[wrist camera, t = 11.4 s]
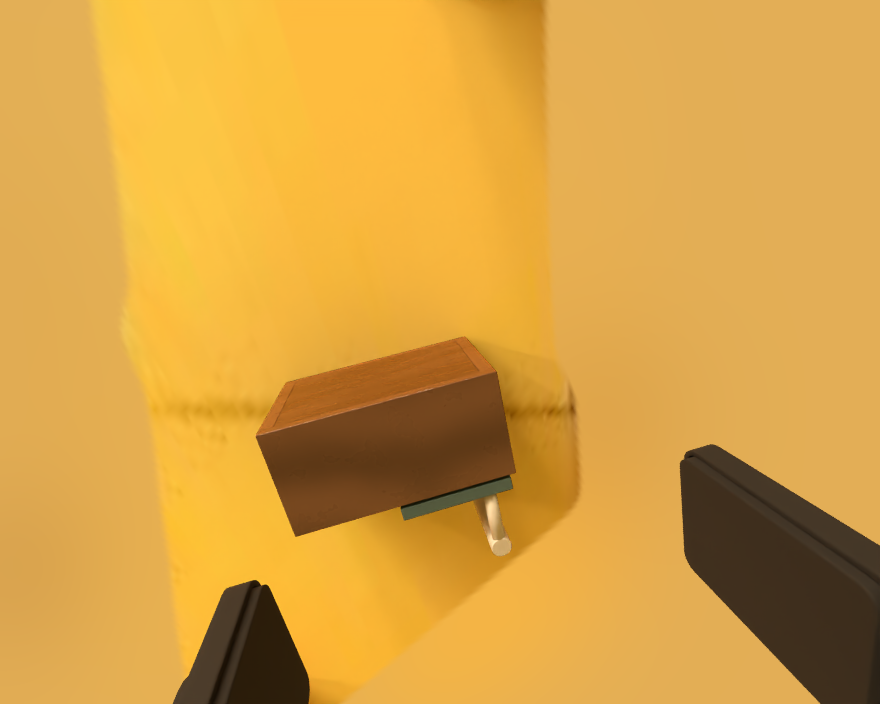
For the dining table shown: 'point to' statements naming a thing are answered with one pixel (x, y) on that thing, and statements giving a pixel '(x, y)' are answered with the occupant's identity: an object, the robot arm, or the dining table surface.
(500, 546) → the sliding door
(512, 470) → the cabinet
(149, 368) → the dining table surface
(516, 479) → the dining table surface
